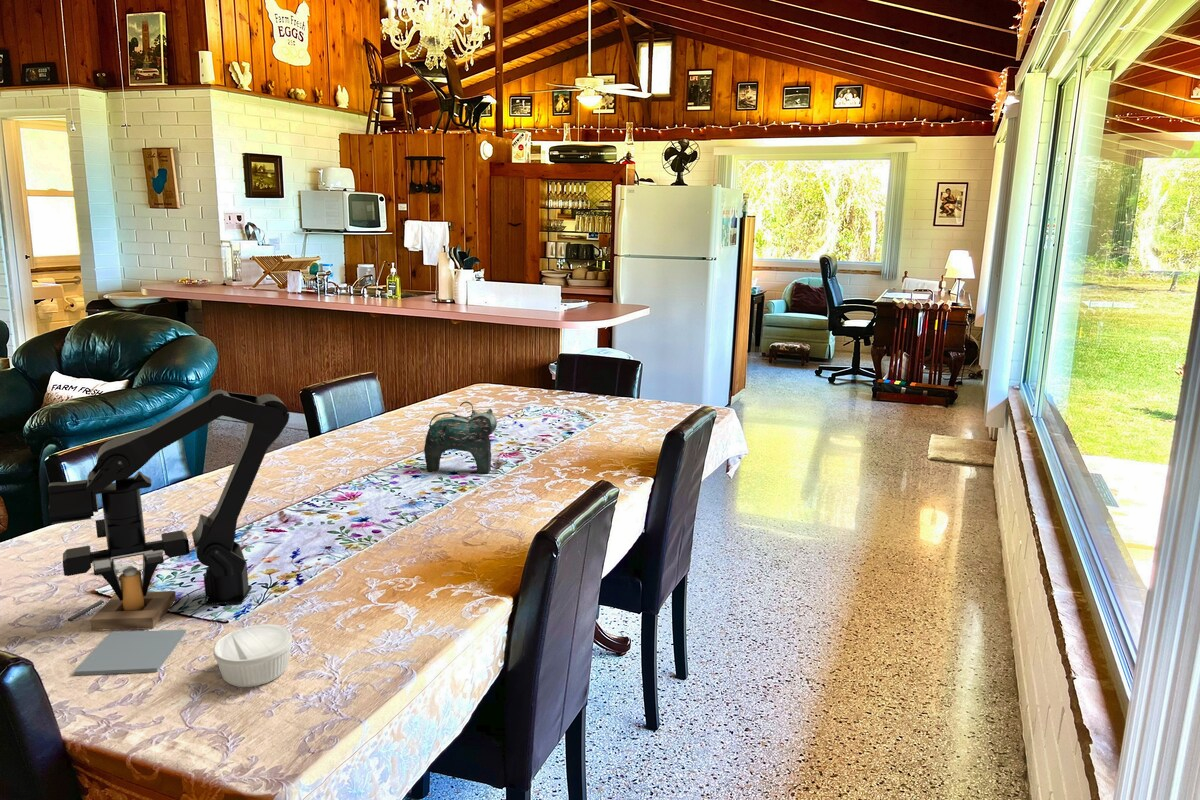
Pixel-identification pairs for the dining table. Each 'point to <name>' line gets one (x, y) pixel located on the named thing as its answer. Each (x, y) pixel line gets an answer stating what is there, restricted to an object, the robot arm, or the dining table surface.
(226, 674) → the ramekin
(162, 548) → the robot arm
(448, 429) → the green animal figurine
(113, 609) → the brown square frame
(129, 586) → the orange cylinder
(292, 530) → the dining table surface
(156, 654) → the rubber mat
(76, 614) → the strip
